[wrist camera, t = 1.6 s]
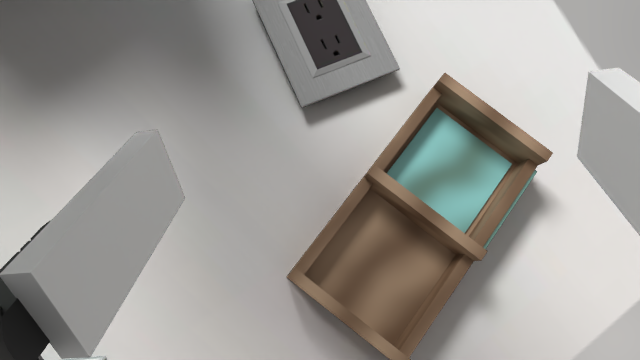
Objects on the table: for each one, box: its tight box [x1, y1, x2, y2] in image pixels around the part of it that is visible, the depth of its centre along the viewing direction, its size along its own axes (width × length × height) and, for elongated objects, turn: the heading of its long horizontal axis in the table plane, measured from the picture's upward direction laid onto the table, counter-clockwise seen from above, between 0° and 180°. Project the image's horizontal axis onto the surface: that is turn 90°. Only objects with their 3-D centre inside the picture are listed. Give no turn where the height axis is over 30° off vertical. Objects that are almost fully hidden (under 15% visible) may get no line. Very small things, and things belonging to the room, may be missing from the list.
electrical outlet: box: [253, 0, 400, 107], centre depth 45 cm, size 13×10×2 cm
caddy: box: [287, 73, 553, 360], centre depth 41 cm, size 12×23×5 cm, turn 142°
